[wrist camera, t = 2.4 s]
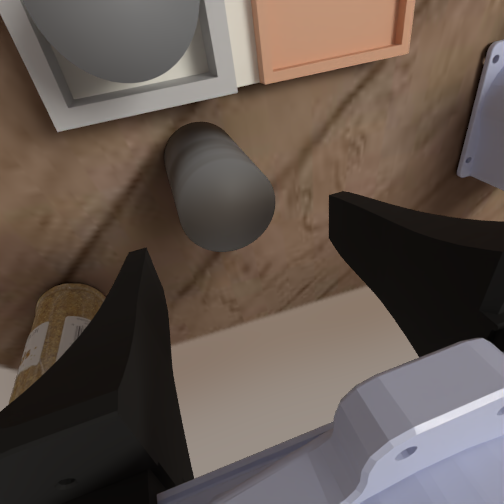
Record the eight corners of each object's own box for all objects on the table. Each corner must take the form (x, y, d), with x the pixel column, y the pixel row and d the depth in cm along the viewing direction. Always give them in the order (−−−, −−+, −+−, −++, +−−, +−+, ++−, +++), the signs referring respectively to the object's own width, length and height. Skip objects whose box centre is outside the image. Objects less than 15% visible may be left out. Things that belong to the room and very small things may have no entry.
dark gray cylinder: (240, 183, 22) (279, 236, 16) (175, 200, 21) (193, 262, 16) (229, 114, 19) (270, 151, 14) (154, 131, 19) (166, 177, 13)
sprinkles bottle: (22, 293, 22) (-76, 554, 11) (93, 271, 22) (64, 496, 12) (58, 337, 24) (7, 579, 14) (120, 316, 25) (117, 532, 14)
